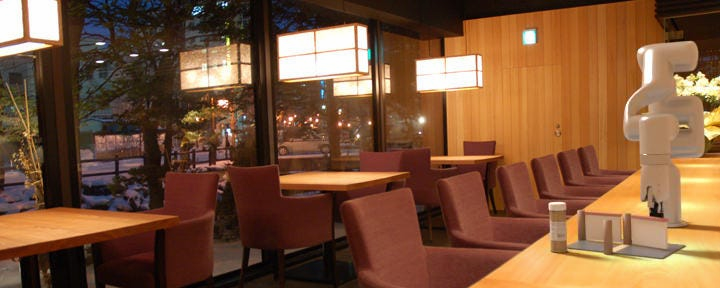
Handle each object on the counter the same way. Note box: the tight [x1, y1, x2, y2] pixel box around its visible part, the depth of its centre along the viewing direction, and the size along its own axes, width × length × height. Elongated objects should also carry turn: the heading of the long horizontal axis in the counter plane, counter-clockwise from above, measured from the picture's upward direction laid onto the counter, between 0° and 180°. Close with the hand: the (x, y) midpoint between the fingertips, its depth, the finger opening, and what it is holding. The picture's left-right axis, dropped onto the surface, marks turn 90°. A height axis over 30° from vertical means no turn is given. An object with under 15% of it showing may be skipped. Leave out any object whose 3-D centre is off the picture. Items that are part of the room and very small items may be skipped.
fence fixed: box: [576, 209, 632, 256], centre depth 171 cm, size 16×15×9 cm
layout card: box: [567, 238, 686, 260], centre depth 169 cm, size 20×26×1 cm
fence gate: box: [630, 214, 669, 249], centre depth 166 cm, size 10×2×8 cm, turn 30°
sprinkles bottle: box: [548, 201, 568, 254], centre depth 167 cm, size 5×5×14 cm
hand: (656, 226), depth 167 cm, fingers closed
